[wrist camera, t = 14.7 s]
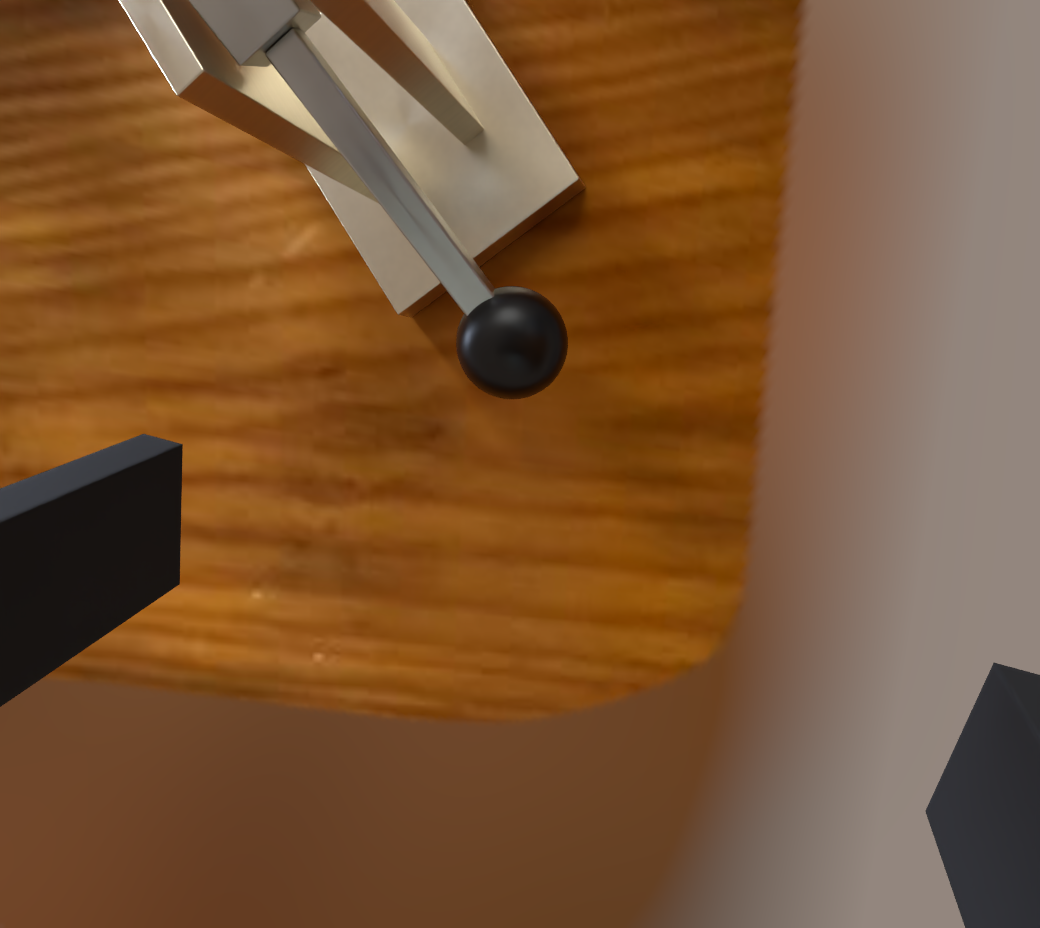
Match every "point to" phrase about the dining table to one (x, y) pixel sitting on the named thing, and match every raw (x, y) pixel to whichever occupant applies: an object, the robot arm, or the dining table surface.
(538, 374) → the lever
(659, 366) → the dining table surface
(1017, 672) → the robot arm
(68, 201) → the dining table surface
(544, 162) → the lever bracket
